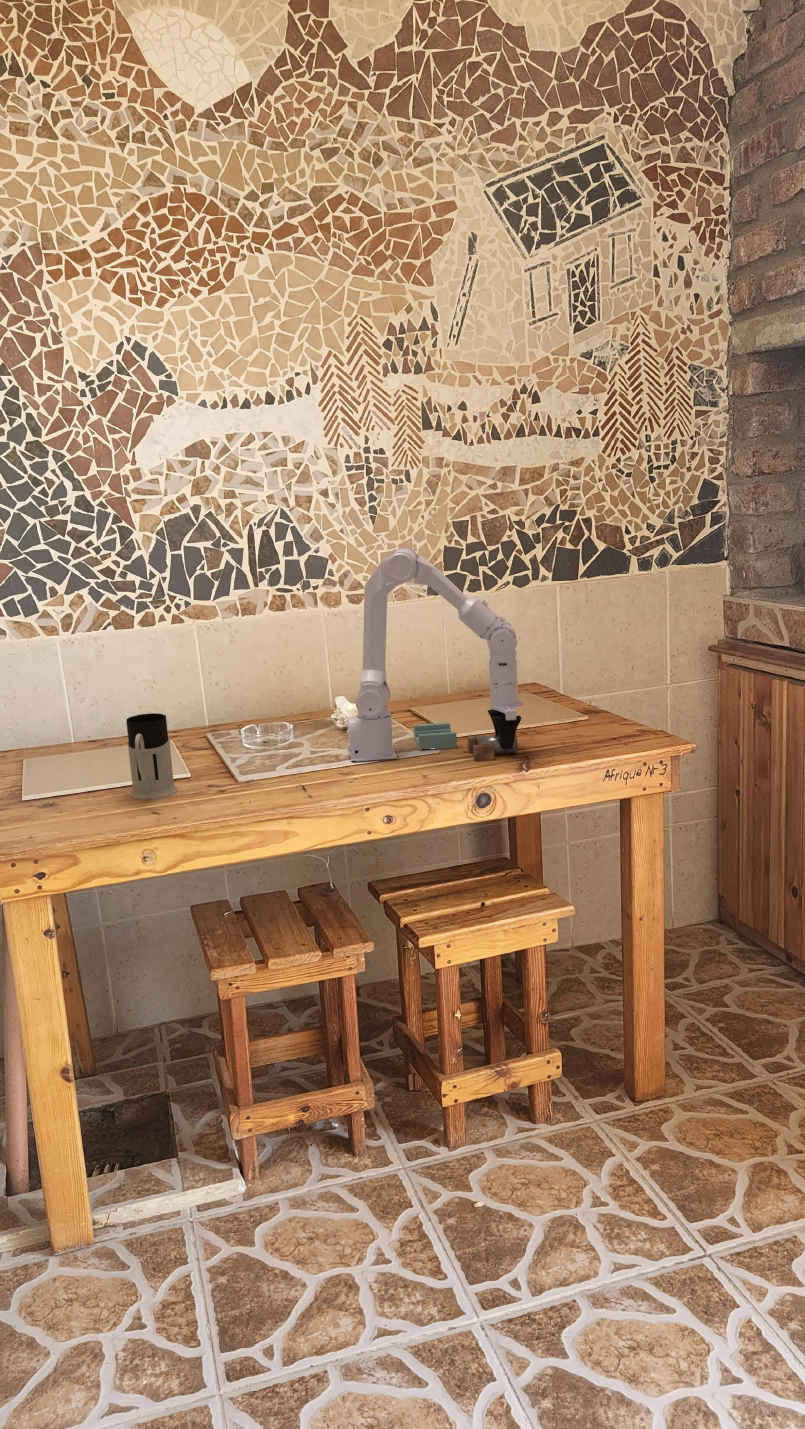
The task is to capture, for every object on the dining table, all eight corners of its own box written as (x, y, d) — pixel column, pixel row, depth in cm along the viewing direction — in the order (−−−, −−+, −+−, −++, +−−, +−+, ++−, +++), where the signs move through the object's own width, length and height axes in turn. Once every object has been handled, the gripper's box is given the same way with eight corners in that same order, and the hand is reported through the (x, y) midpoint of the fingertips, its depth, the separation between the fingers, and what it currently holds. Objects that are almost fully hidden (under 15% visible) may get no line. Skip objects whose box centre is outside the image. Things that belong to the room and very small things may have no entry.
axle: (480, 757, 224) (479, 739, 223) (476, 752, 228) (476, 734, 227) (518, 754, 225) (517, 736, 224) (514, 749, 229) (513, 731, 228)
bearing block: (475, 761, 221) (474, 747, 221) (468, 750, 230) (467, 736, 229) (494, 760, 222) (494, 746, 221) (486, 748, 230) (486, 735, 230)
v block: (419, 750, 231) (419, 736, 231) (414, 738, 241) (413, 724, 240) (456, 747, 232) (456, 733, 231) (449, 736, 242) (449, 722, 241)
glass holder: (180, 784, 215) (173, 711, 212) (167, 807, 202) (159, 729, 198) (136, 786, 215) (128, 713, 212) (120, 809, 201) (111, 732, 198)
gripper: (530, 688, 216) (531, 753, 219) (515, 673, 230) (516, 735, 233) (495, 690, 215) (497, 756, 219) (482, 676, 229) (484, 738, 233)
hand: (505, 745), depth 226 cm, fingers closed on axle, 4 cm apart
